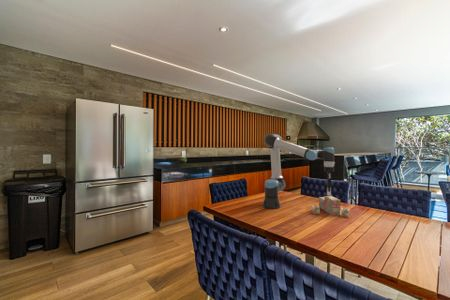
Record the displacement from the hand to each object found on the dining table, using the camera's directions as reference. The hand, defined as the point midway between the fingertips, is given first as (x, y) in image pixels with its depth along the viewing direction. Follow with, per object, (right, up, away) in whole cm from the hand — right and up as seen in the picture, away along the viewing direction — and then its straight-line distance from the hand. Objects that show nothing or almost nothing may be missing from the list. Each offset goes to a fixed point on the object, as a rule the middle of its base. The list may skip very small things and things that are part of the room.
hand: (328, 195), depth 175 cm
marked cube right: (+8, -14, -10) cm, 19 cm away
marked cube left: (-12, -14, -2) cm, 18 cm away
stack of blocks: (0, -14, +1) cm, 14 cm away
